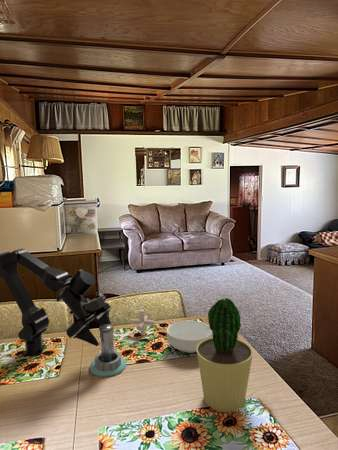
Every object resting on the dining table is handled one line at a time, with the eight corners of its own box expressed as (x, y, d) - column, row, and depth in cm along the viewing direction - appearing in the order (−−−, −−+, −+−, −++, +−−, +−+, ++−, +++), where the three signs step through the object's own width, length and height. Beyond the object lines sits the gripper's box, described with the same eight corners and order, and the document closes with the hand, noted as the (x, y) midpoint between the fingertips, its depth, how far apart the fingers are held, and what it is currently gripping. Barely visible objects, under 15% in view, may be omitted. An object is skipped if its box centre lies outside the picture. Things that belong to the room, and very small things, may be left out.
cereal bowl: (220, 343, 126) (220, 325, 125) (199, 364, 112) (199, 344, 111) (181, 333, 135) (180, 316, 134) (158, 351, 121) (157, 332, 120)
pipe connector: (151, 340, 129) (150, 316, 127) (127, 338, 131) (126, 314, 129) (157, 329, 138) (157, 306, 137) (134, 327, 140) (133, 305, 139)
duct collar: (92, 358, 117) (91, 349, 117) (126, 355, 118) (126, 347, 118) (87, 378, 105) (87, 368, 105) (125, 375, 106) (125, 365, 106)
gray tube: (98, 362, 112) (96, 326, 111) (112, 358, 115) (110, 322, 113) (103, 369, 108) (101, 331, 107) (117, 365, 111) (115, 327, 109)
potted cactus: (234, 377, 104) (235, 284, 100) (263, 409, 89) (265, 302, 85) (188, 388, 99) (187, 291, 95) (211, 423, 85) (210, 311, 81)
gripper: (72, 297, 102) (104, 337, 99) (105, 280, 119) (133, 314, 116) (52, 318, 105) (83, 357, 103) (87, 298, 123) (114, 331, 120)
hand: (105, 338), depth 111 cm, fingers open, 9 cm apart
